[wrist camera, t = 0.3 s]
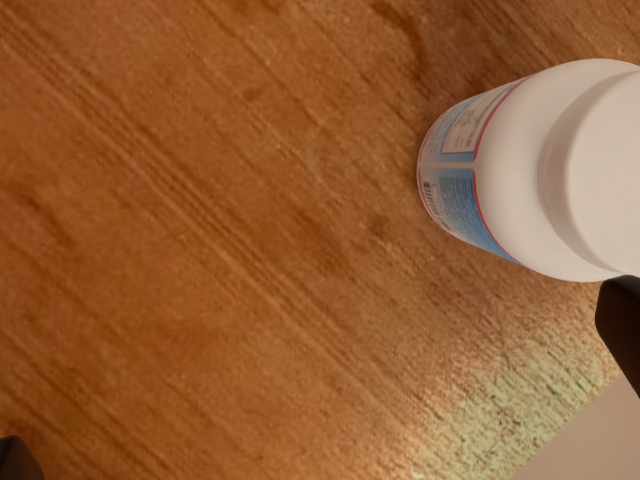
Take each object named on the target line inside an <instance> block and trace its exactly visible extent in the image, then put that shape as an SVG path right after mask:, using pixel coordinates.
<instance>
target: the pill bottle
mask: <svg viewBox="0 0 640 480" xmlns="http://www.w3.org/2000/svg"><path fill="white" fill-rule="evenodd" d="M417 184H418V190H419V193H420V196H421V199H422V202H423V204H424V206H425V208H426V210H427V211H428V213H429V214H430V216H431V217H432V218H433V220H434V221H435V222H436V223H437V224H438V225H439V226H440V227H441V228H443V229H444V230H445V231H446V232H448V233H449V234H451V235H453V236H454V237H456V238H458V239H460V240H462V241H465V242H467V243H469V244H472V245H474V246H477V247H479V248H481V249H484V250H486V251H489V252H491V253H493V254H496V255H498V256H501V257H503V258H505V259H507V260H510V261H512V262H514V263H517V264H519V265H522V266H524V267H526V268H529V269H531V270H533V271H536V272H538V273H541V274H544V275H547V276H549V277H553V278H556V279H560V280H566V281H574V282H597V281H603V280H607V279H610V278H614V277H618V276H622V275H634V276H637V277H639V278H640V66H637V65H634V64H632V63H628V62H623V61H619V60H612V59H585V60H577V61H572V62H568V63H564V64H561V65H557V66H554V67H551V68H548V69H545V70H543V71H540V72H537V73H535V74H532V75H530V76H527V77H524V78H522V79H519V80H516V81H513V82H511V83H508V84H505V85H503V86H500V87H497V88H495V89H492V90H489V91H487V92H484V93H481V94H479V95H476V96H473V97H471V98H468V99H466V100H463V101H461V102H460V103H458V104H456V105H454V106H453V107H451V108H450V109H448V110H447V111H446V112H444V113H443V114H442V115H441V116H440V117H439V118H438V119H437V120H436V121H435V123H434V124H433V125H432V126H431V128H430V129H429V131H428V133H427V134H426V136H425V138H424V140H423V143H422V145H421V148H420V151H419V155H418V161H417Z"/></svg>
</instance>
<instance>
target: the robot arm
mask: <svg viewBox="0 0 640 480" xmlns="http://www.w3.org/2000/svg"><path fill="white" fill-rule="evenodd" d="M595 326H596V329H597V331H598V333H599V335H600V337H601V338H602V340H603V342H604V343H605V345H606V346H607V348H608V349H609V351H610V353H611V354H612V356H613V357H614V359H615V361H616V362H617V364H618V365H619V367H620V369H621V370H622V372H623V373H624V375H625V376H626V378H627V380H628V381H629V383H630V384H631V386H632V388H633V389H634V391H635V392H636V394H637V395H638V397H639V399H640V278H639V277H637V276H634V275H622V276H618V277H614V278H610V279H607V280H605V281H604V282H603V283H602V284H601V287H600V291H599V297H598V302H597V307H596V313H595ZM0 480H45V479H44V474H43V471H42V469H41V467H40V466H39V464H38V462H37V461H36V459H35V458H34V456H33V455H32V453H31V452H30V450H29V449H28V447H27V446H26V444H25V443H24V441H23V440H22V439H21V438H20V437H18V436H16V435H14V436H13V435H12V436H8V437H4V438H0Z"/></svg>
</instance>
